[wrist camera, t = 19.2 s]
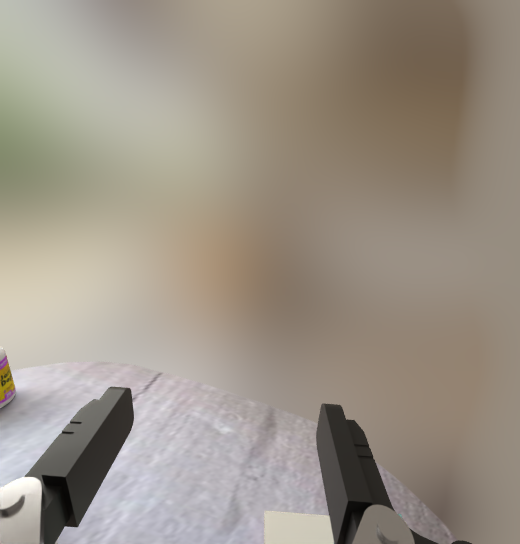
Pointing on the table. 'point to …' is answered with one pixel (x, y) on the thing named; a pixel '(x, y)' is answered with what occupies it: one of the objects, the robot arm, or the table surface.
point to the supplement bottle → (5, 380)
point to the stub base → (297, 528)
